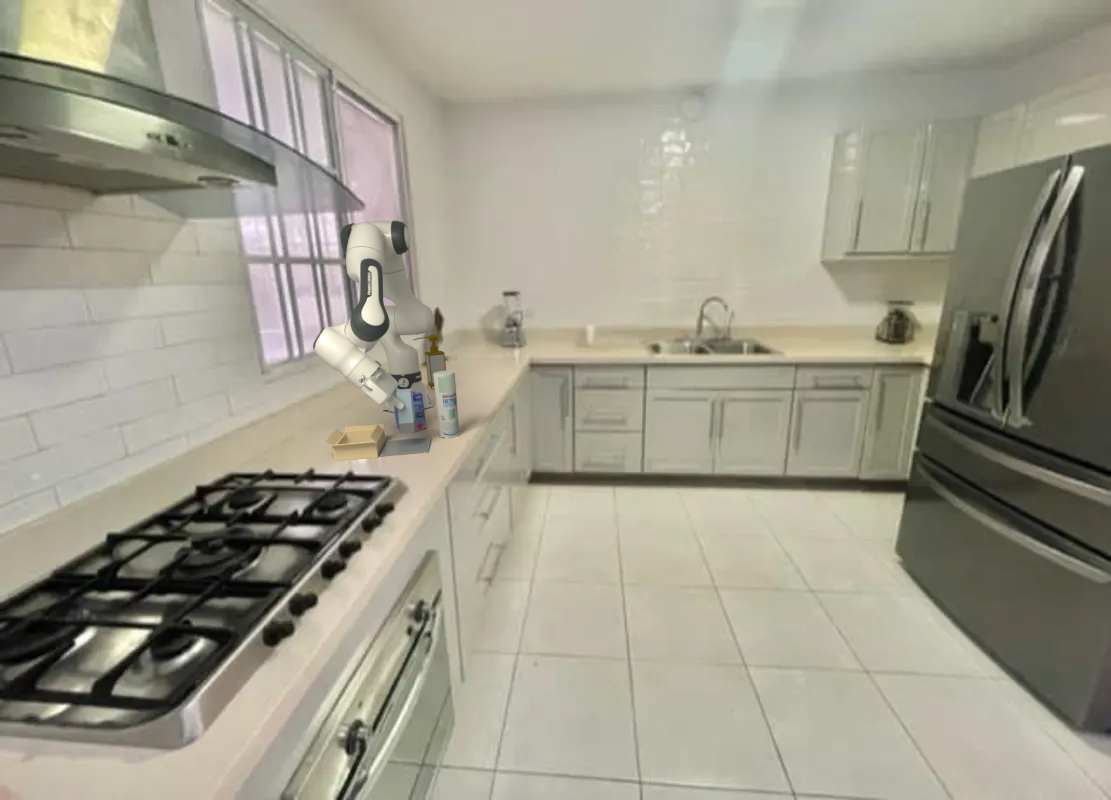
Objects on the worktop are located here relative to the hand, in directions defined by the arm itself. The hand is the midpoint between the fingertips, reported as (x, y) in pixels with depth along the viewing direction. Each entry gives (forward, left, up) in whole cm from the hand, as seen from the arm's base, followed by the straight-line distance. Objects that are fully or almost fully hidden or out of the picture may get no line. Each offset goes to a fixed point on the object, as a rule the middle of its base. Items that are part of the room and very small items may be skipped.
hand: (404, 404), depth 156 cm
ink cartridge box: (-21, -2, -13) cm, 25 cm away
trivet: (0, -1, -13) cm, 13 cm away
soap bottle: (-90, 0, -13) cm, 91 cm away
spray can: (-9, +11, -13) cm, 20 cm away
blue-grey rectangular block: (0, 0, -8) cm, 8 cm away
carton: (0, -14, -13) cm, 19 cm away
